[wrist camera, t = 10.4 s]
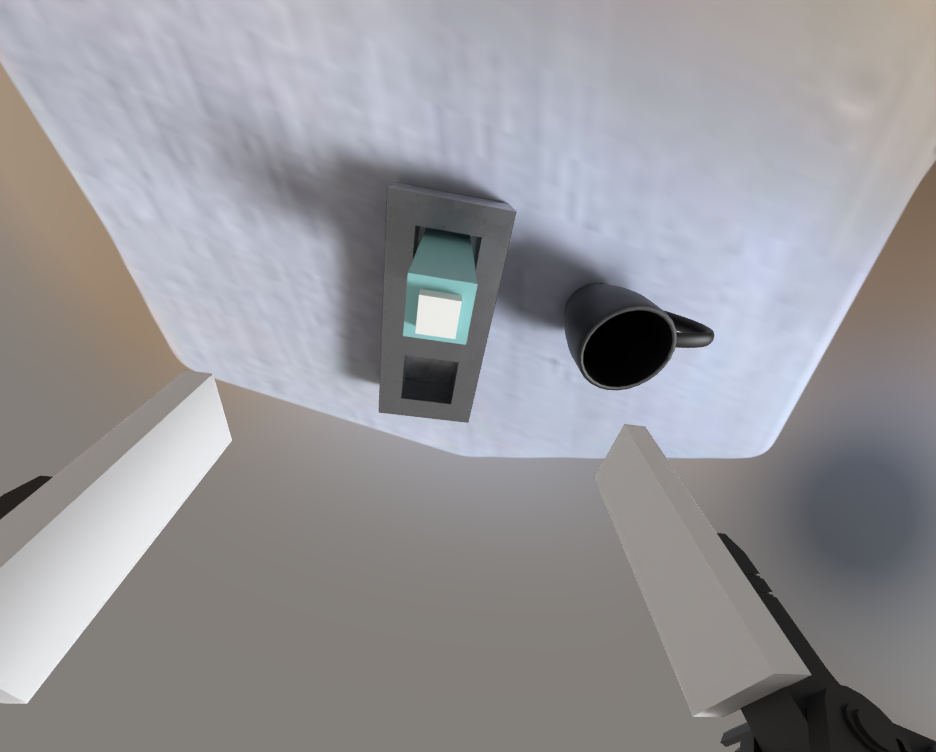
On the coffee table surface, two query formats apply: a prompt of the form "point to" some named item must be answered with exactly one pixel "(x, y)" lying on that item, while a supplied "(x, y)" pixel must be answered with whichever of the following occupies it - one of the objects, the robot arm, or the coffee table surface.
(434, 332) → the plug
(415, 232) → the socket panel
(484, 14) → the coffee table surface
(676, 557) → the robot arm
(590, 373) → the mug
